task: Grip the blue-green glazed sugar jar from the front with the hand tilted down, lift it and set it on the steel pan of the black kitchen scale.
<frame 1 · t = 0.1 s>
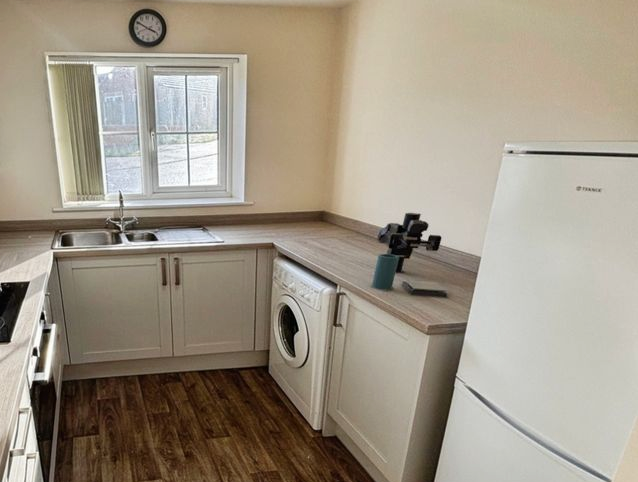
hand: (419, 246, 182), 16 cm above the worktop, tool horizontal, fingers open, 9 cm apart
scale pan: (425, 285, 180), point 2 cm above the worktop, slide at 0.0 cm
scale: (423, 290, 181), on the worktop
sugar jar: (381, 287, 186), on the worktop
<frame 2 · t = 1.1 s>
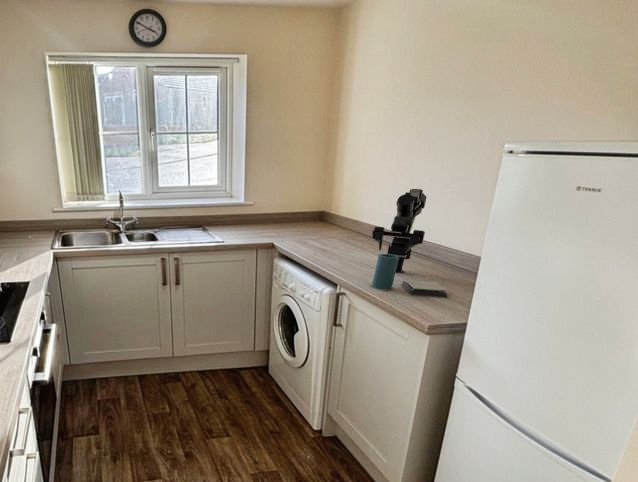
hand: (392, 251, 186), 13 cm above the worktop, tool tilted 45°, fingers open, 9 cm apart
nothing on the worktop moved.
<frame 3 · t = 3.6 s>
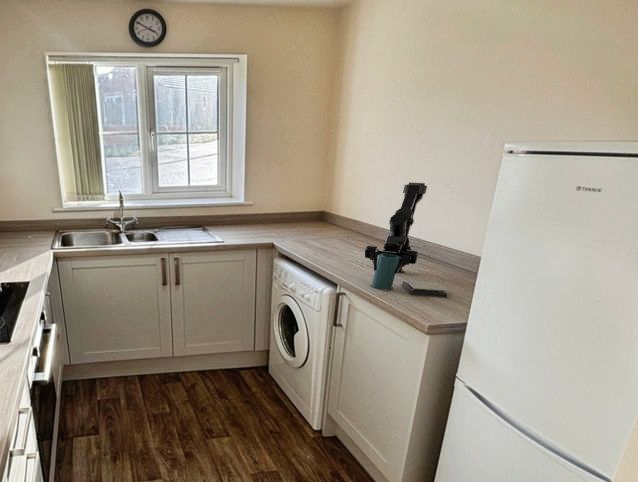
hand: (384, 271, 182), 7 cm above the worktop, tool tilted 45°, fingers closed on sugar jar, 7 cm apart
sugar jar: (381, 286, 186), on the worktop, touching gripper
everything else where it was.
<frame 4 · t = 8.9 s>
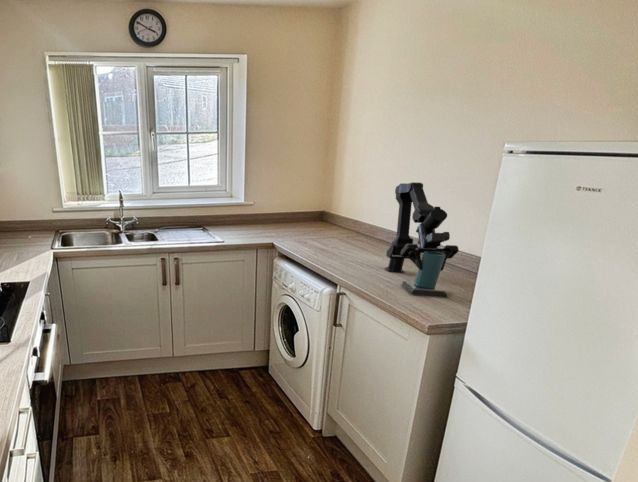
hand: (431, 269, 176), 9 cm above the worktop, tool tilted 45°, fingers closed on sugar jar, 7 cm apart
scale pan: (425, 286, 180), point 2 cm above the worktop, slide at -0.2 cm, touching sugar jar
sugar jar: (424, 285, 180), point 2 cm above the worktop, touching gripper, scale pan
when the fingers open (9 cm above the worktop, at t = 9.2 s): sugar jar stays where it is, resting on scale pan.
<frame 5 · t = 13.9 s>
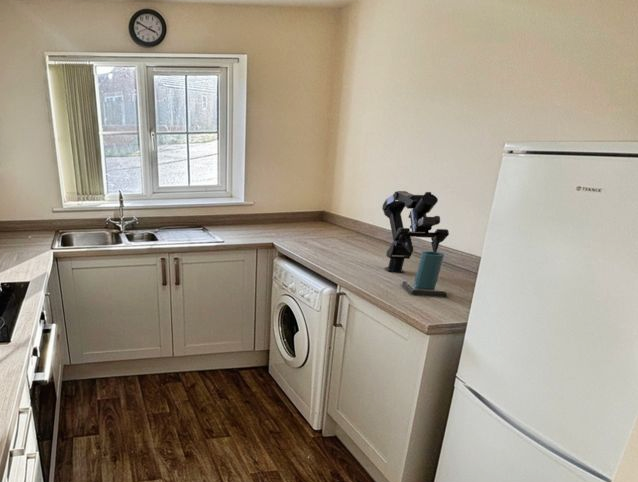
hand: (422, 252, 184), 14 cm above the worktop, tool tilted 45°, fingers open, 9 cm apart
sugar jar: (424, 285, 180), point 2 cm above the worktop, touching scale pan
everything else where it was.
at the end: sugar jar inside the target area on the scale (0.4 cm from its centre), point 2.2 cm above the scale's base; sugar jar tilted 0°; the gripper is holding nothing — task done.
